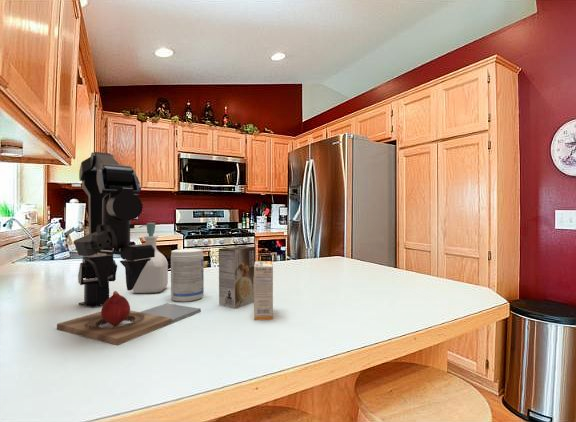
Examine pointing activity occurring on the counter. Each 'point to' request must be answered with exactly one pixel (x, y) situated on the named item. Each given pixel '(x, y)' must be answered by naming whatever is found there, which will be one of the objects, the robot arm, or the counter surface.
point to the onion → (115, 309)
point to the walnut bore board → (117, 334)
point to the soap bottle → (152, 268)
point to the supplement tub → (187, 275)
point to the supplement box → (263, 290)
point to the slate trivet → (172, 311)
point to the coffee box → (236, 276)
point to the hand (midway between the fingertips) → (116, 288)
